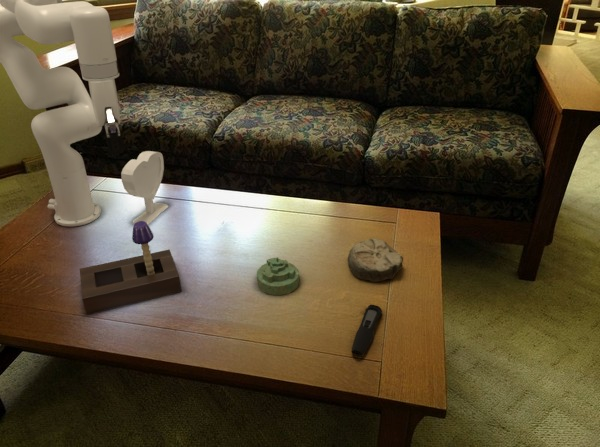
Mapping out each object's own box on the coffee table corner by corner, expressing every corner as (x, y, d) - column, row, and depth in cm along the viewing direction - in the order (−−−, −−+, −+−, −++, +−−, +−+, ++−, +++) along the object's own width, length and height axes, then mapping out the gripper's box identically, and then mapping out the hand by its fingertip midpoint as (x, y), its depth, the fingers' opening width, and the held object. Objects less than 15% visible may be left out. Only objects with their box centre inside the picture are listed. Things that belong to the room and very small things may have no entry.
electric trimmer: (346, 358, 103) (346, 346, 102) (366, 309, 116) (367, 298, 114) (364, 363, 102) (365, 352, 101) (383, 314, 115) (384, 303, 113)
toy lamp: (156, 290, 122) (145, 230, 113) (138, 288, 122) (125, 227, 114) (165, 278, 126) (155, 219, 117) (147, 276, 126) (135, 217, 118)
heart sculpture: (143, 228, 145) (133, 170, 136) (128, 225, 147) (116, 167, 137) (171, 203, 158) (164, 148, 149) (157, 200, 159) (148, 145, 150)
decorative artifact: (290, 298, 119) (304, 274, 127) (290, 274, 115) (304, 250, 123) (250, 290, 122) (266, 266, 130) (249, 265, 118) (265, 242, 126)
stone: (385, 249, 137) (387, 231, 134) (409, 277, 126) (412, 259, 123) (339, 258, 133) (339, 240, 131) (360, 288, 122) (361, 270, 120)
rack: (83, 283, 124) (79, 268, 121) (171, 264, 131) (169, 249, 128) (86, 314, 114) (82, 298, 112) (181, 291, 121) (179, 276, 119)
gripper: (79, 62, 116) (94, 134, 124) (83, 82, 102) (100, 162, 111) (114, 58, 118) (126, 130, 127) (123, 78, 104) (136, 156, 113)
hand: (114, 145), depth 119 cm, fingers open, 9 cm apart
